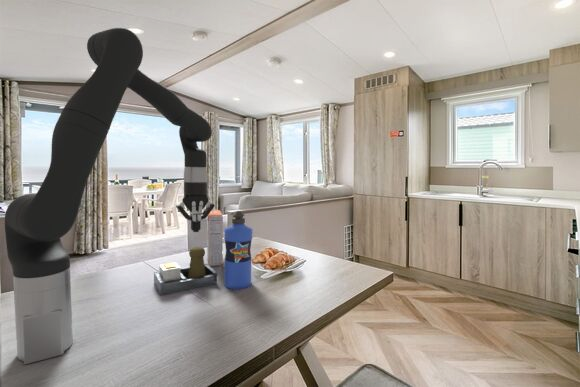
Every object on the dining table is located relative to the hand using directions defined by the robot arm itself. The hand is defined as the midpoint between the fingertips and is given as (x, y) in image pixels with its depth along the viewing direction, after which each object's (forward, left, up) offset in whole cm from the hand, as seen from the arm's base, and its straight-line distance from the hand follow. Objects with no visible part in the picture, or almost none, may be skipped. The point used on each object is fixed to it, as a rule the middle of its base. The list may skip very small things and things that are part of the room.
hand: (195, 231), depth 101 cm
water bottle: (-9, -12, -18) cm, 23 cm away
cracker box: (+19, -14, -18) cm, 29 cm away
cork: (0, 0, -17) cm, 17 cm away
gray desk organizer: (0, +3, -18) cm, 18 cm away
